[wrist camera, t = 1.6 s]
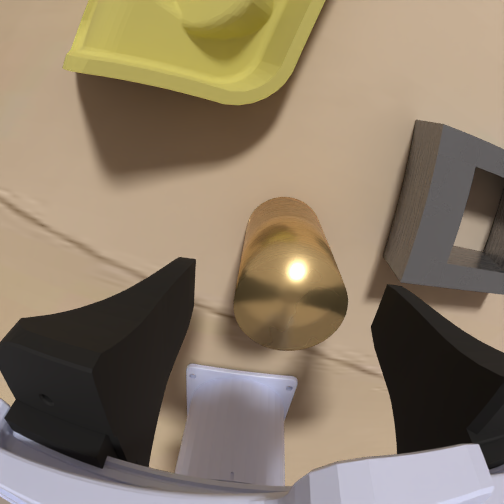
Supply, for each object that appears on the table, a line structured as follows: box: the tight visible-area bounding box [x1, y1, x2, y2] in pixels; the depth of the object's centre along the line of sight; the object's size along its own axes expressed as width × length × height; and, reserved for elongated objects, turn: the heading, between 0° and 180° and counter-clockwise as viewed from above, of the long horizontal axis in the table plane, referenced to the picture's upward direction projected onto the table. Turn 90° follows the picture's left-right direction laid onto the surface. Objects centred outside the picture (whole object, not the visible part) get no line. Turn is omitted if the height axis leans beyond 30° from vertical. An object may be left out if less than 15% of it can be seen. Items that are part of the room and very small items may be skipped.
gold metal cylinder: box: [234, 197, 348, 351], centre depth 14 cm, size 4×4×7 cm
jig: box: [383, 120, 504, 294], centre depth 15 cm, size 8×10×3 cm
